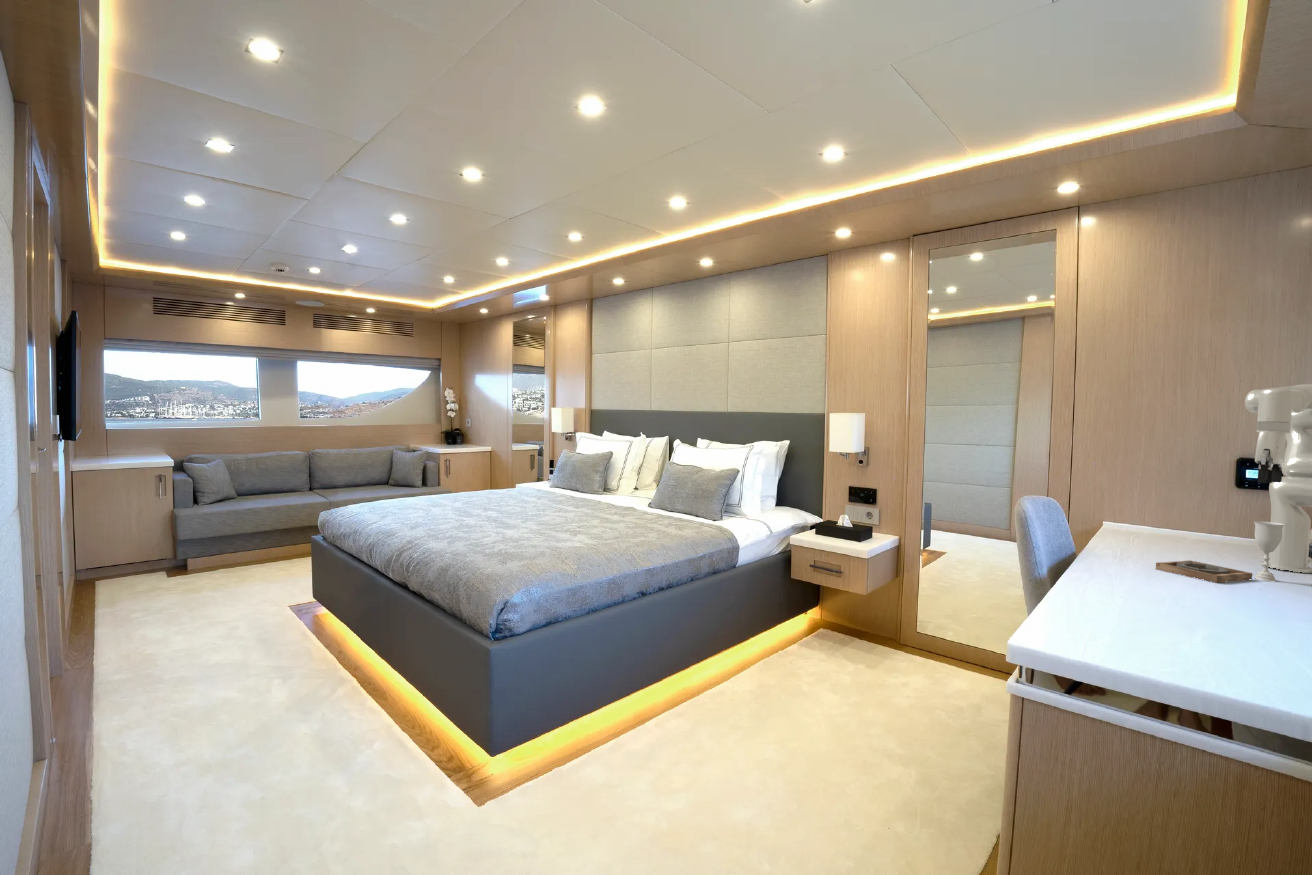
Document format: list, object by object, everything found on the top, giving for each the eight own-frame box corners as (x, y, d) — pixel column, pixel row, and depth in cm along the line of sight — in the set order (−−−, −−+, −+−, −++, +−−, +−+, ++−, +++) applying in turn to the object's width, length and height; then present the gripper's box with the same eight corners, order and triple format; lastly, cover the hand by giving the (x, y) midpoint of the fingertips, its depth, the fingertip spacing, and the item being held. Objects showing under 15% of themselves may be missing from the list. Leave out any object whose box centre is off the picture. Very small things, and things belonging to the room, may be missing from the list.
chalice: (1287, 582, 189) (1291, 525, 189) (1265, 582, 189) (1269, 524, 189) (1264, 576, 197) (1268, 521, 196) (1243, 576, 197) (1246, 520, 196)
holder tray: (1189, 566, 208) (1190, 559, 208) (1251, 579, 192) (1252, 572, 192) (1155, 569, 202) (1156, 561, 202) (1216, 583, 186) (1216, 574, 186)
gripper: (1265, 428, 200) (1261, 480, 200) (1248, 426, 190) (1244, 481, 191) (1298, 429, 193) (1294, 483, 194) (1282, 427, 184) (1277, 484, 185)
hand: (1269, 482), depth 192 cm, fingers open, 9 cm apart
